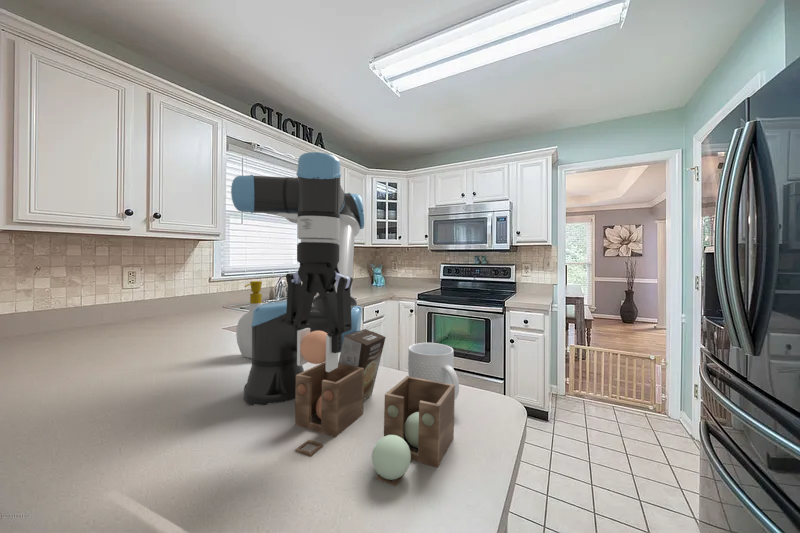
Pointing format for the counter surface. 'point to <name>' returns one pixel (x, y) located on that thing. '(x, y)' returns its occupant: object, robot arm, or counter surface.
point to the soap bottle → (248, 321)
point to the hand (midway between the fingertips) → (317, 366)
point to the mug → (433, 363)
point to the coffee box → (363, 355)
